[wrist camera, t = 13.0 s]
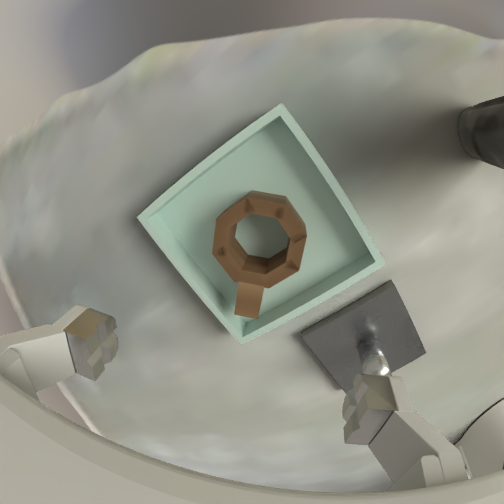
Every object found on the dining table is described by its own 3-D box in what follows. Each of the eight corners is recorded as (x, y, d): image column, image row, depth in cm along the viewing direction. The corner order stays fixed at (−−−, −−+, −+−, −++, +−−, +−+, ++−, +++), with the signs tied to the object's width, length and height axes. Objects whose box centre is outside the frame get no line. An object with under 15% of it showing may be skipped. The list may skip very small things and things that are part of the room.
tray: (377, 251, 22) (386, 263, 20) (245, 328, 26) (240, 345, 24) (282, 107, 20) (281, 102, 17) (150, 209, 24) (136, 217, 21)
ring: (228, 186, 22) (219, 192, 19) (310, 200, 21) (312, 209, 19) (215, 290, 25) (206, 308, 22) (287, 304, 24) (285, 324, 22)
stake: (423, 346, 25) (440, 381, 20) (345, 387, 28) (350, 425, 23) (391, 279, 23) (410, 312, 18) (301, 331, 26) (302, 370, 21)
